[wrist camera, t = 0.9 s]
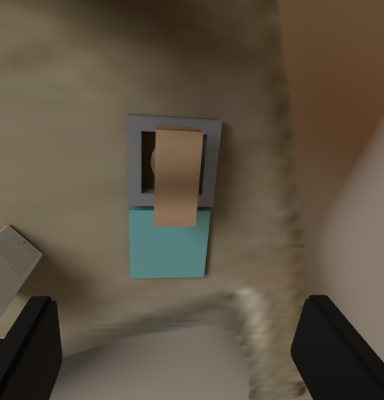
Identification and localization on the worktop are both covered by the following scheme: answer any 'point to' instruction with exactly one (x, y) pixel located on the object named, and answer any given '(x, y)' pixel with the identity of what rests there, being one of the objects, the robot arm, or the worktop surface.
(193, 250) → the tile
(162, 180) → the t-key
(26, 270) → the small box
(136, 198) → the socket
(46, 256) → the worktop surface
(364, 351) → the robot arm
